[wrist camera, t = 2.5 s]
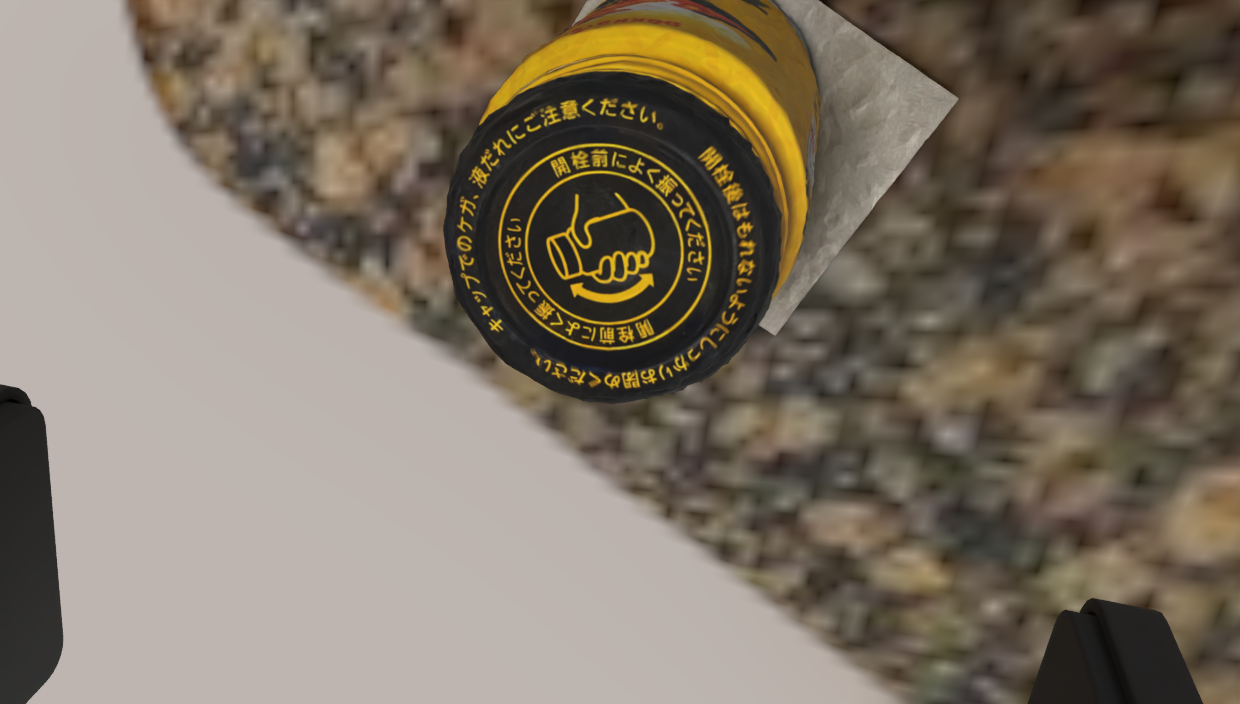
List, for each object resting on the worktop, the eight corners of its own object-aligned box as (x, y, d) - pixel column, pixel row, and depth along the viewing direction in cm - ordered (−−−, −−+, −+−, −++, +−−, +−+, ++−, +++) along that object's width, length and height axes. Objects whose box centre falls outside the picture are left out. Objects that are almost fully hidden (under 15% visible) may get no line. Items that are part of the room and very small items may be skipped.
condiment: (655, -115, 27) (527, -79, 16) (958, 97, 27) (1033, 269, 17) (499, 146, 30) (304, 325, 19) (775, 331, 31) (738, 605, 20)
